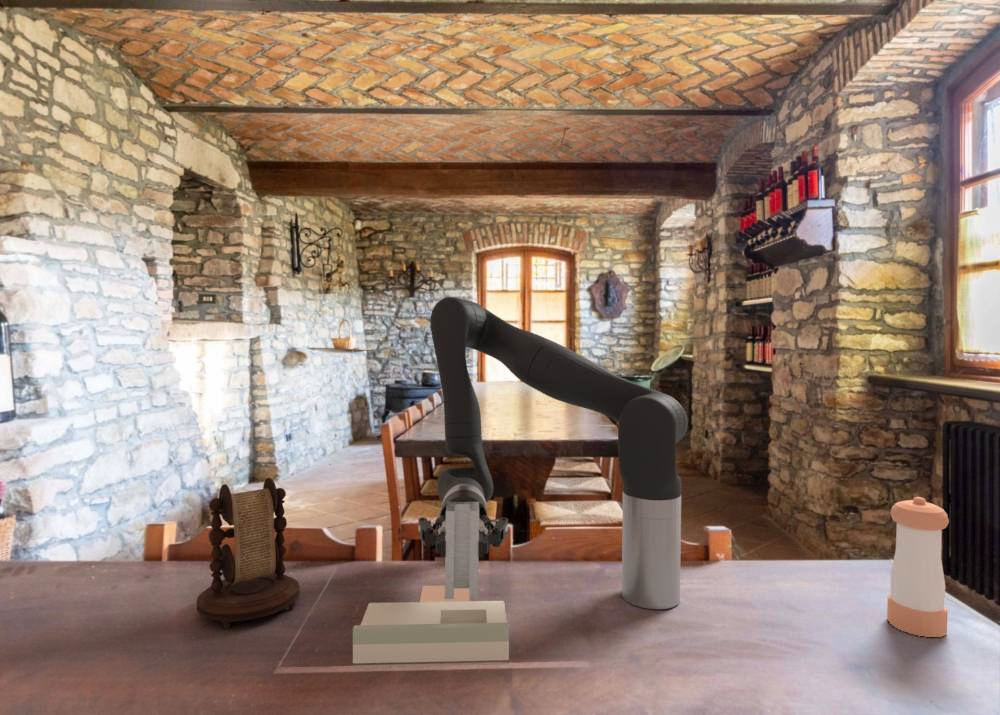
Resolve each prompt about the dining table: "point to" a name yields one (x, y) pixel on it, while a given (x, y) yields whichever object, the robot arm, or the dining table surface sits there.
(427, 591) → the tile
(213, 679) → the dining table surface
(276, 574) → the scroll
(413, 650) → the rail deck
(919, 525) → the salt shaker
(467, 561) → the clip
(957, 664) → the dining table surface
